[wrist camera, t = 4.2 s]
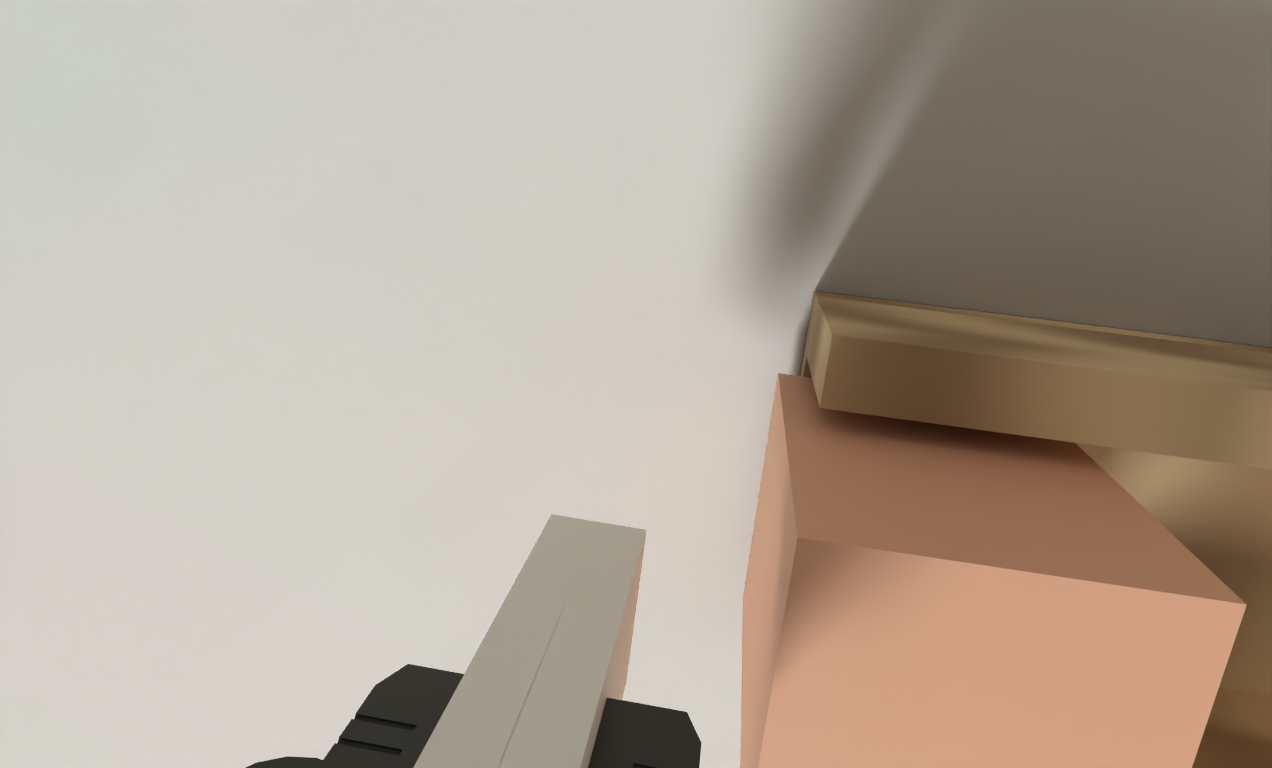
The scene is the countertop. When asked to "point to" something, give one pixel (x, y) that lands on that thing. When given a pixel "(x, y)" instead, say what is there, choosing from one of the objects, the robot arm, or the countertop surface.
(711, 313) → the countertop surface
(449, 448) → the countertop surface
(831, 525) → the block
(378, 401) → the countertop surface
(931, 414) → the chute
